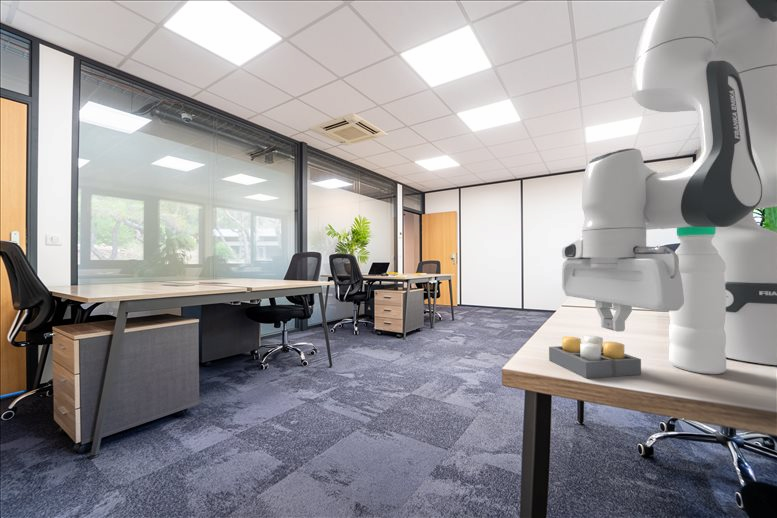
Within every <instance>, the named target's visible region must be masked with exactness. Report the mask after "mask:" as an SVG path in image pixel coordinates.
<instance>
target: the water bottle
mask: <svg viewBox="0 0 777 518" xmlns="http://www.w3.org/2000/svg"><path fill="white" fill-rule="evenodd" d="M715 232H716V227H681V228H676V236H677V239H678V240H679V241H680V244H679V245H678V247H677V248H676V249H675V251H674V252H675V253H676V254H677V255H678V257H679V270H680V274H681V278H682V284H683V292H684V304H683V306H682V307H681V308H680V309H679V310H677V311H668V314H669V321H670V323H669V327H668V338H669V348H668V361H669V362H670V364H671V365H672V366H674V367H676V368H678V369H681V370H685V371H688V372H693V373H697V374H706V375H720V374H723V373H725V372H726V371H727V357H726V355H725V345H726V334H725V330H724V324H725V314H726V290H725V279H724V272H725V269H726V265H725V262H724V260H723V259H722V257H721V256H720V255H718V251H717V249H716V248H715V247H714V246H713V245H712V242H711V240H712V238H713V237H715V236H714V235H715Z"/></svg>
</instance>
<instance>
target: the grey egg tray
mask: <svg viewBox="0 0 777 518" xmlns="http://www.w3.org/2000/svg"><path fill="white" fill-rule="evenodd" d="M548 361H550V362H553V363H554V364H556V365H558V366H560V367H562V368H564V369H566V370H568V369H569V370H568V371H570V370H571V371H570V372H573V373H574V374H577V375H578V376H579V377H580V376H581V377H582V378H585V379H594V378H609V377H621V376H623V377H624V376H636V375H637V376H638V375H641V374H642V359H641V358H639V357H636V356H633V355H630V354H627V353H624V359H616V360H613V359H610V358H608V357H605V356H603V351H601V360H600V361H588V360H585V359H583V358H580V352H579V353H568V352H566V351H563V350H562V345H559V346H557V345H556V346H549V347H548Z"/></svg>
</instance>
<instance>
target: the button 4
mask: <svg viewBox="0 0 777 518" xmlns="http://www.w3.org/2000/svg"><path fill="white" fill-rule="evenodd" d="M624 354H625V344H623V343H622V342H616V341H603V356H605V357H608V358H610V359H613V360H616V359H624Z"/></svg>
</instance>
